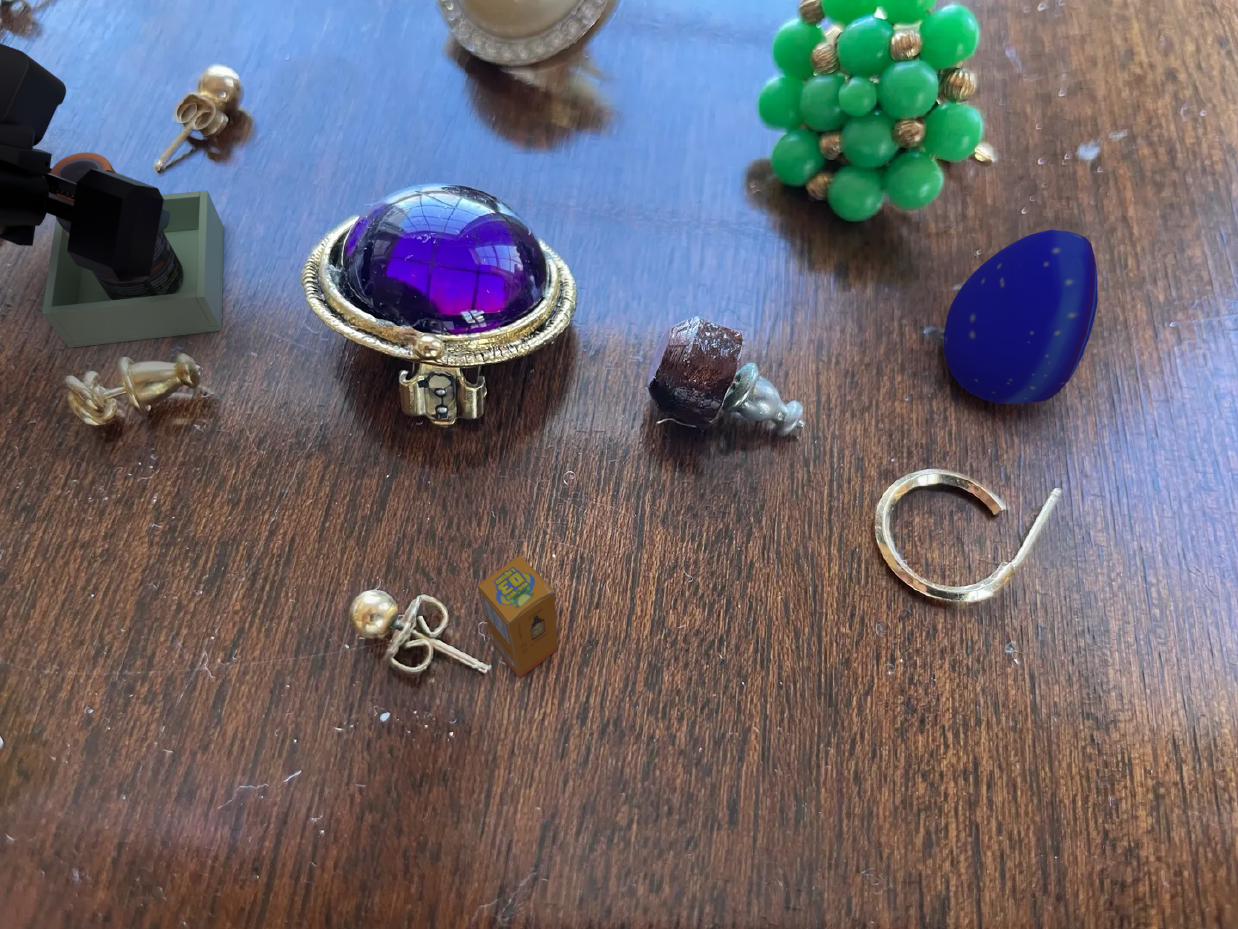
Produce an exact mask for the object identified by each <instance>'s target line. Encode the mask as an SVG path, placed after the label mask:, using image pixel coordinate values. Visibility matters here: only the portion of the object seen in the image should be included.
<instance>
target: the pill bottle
mask: <svg viewBox="0 0 1238 929" xmlns="http://www.w3.org/2000/svg"><path fill="white" fill-rule="evenodd" d="M51 168H52V170H51V172H50V174H53V175H55V176H58V177H61V178H63V179H66V180H69V181H71V182H74V183H77V181H78V180H79V179H80V178H81V177H82V176H84V175H85V174H86V173H87V172H88V171H89V170H90V169H98V170H105V171H106V170H109V171H112V172H115V173H118V174H120V175H124V176H126V177H128V176H127V175H125V174H122V173H119V172H117V171H116V170H115V169H114V168H113V166H112V164H111V162H110V161H109V160H108V158H106V157H105V156H103V155H101V154H99V153H97V152H96V153H95V152H87V151H86V152H78V153H74V154H73V153H72V154H70V155H67V156H65V157H64V158H62V159H60V160H59V161H58V162H56V164H55V165H54V166H52V167H51ZM57 195H58V196H61V197H64V198H66V199H69V200H71V201H74V199H70V198H69V197H65V196H63V195H60V194H57ZM56 219H57V221H58V222H59V224H60V225H61V227H62V228H63V230H64V231H65V232H66V234H67V235H68V237H69V233H70V226H71V222H69V221H66V220H64V219H61V218H59V217H56V216H55V220H56ZM92 272H93V271H92ZM93 274H94V275H95V277H96V278H97V280H98V281H99V283H100V284H101V286H102V287H103V289H104V290H105V292H106V293H107V295H108V296H109V297H110V298H111V299H112V300H121V299H130V298H140V297H149V296H158V295H168V294H174V293H175V292H176V290H177V289H178V288H179V286H180V285H181V283H182V278H183V268H182V265H181V263H180V261H179V259H178V257H177V256H176V254H175V252H174V250H173V248H172V246H171V245H170V243H169V241H168V239H167V237H166V236H165V234H164V232H163V231H162V232H160V233H159V234H158V236H157V242H156V248H155V254H154V259H153V265H152V271H151V276H150V277H149V278H147V279H146V280H144V281H142V282H119V281H116V280H114V279H111V278H109V277H106V276H103V275H101V274H98V273H96V272H93Z"/></svg>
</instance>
